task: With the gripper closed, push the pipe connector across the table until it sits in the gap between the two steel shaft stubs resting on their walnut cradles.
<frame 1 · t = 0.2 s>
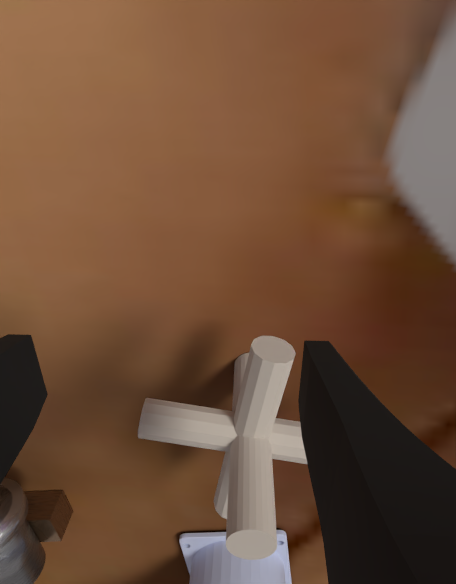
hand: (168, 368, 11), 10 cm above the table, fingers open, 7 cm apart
pipe connector: (250, 363, 23), on the table
shaft a: (28, 488, 29), on the table
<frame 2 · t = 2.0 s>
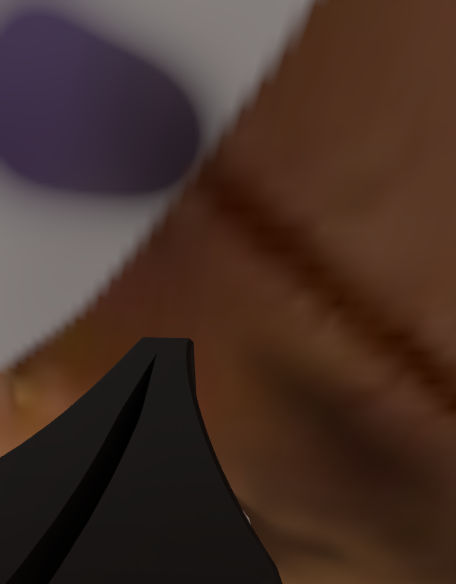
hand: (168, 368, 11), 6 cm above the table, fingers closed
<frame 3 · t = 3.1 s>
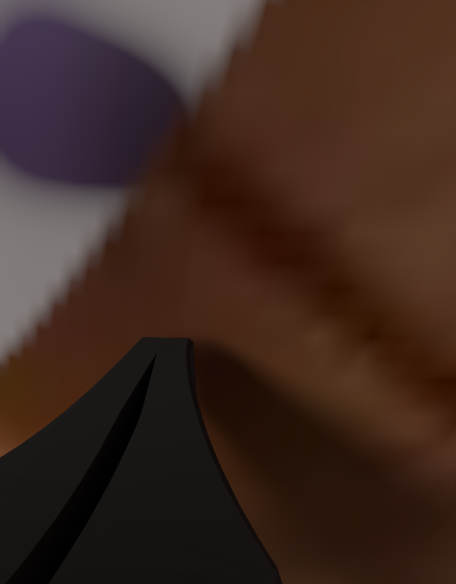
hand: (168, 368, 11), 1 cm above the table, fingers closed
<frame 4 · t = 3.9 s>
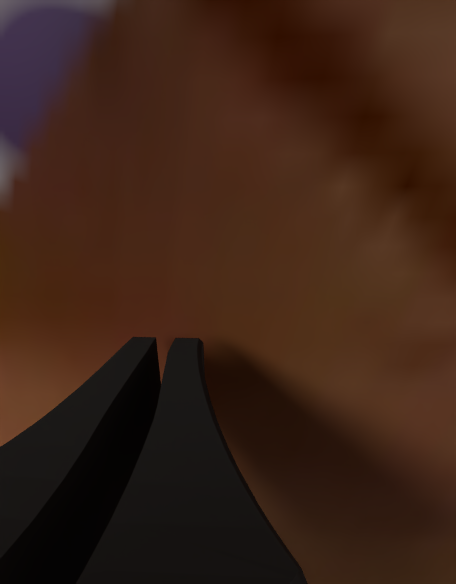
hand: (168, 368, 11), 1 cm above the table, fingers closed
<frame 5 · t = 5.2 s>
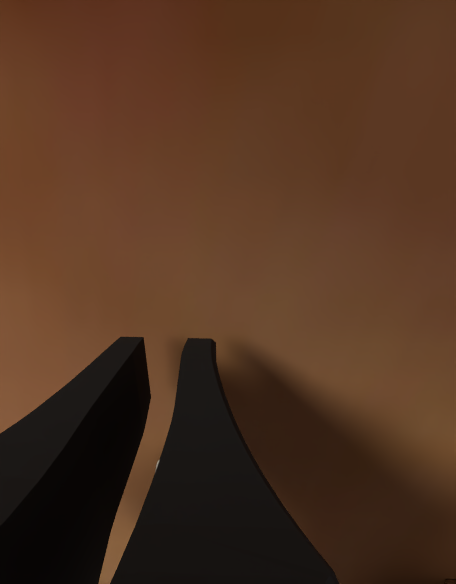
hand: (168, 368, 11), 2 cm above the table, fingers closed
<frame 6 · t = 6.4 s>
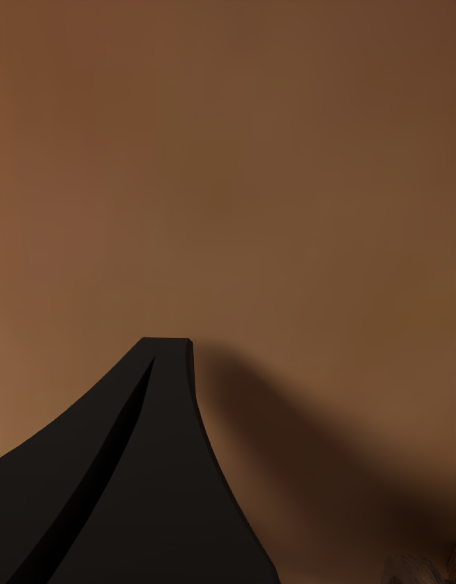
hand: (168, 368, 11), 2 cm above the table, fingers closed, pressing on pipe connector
shaft a: (452, 531, 16), on the table
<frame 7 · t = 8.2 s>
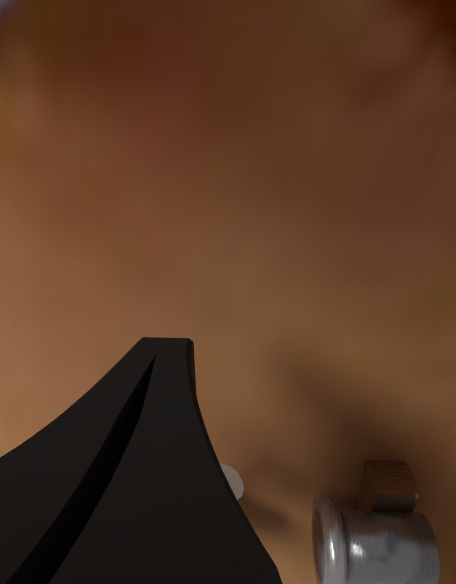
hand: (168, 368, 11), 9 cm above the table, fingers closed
pipe connector: (184, 452, 26), on the table
shaft a: (356, 487, 27), on the table
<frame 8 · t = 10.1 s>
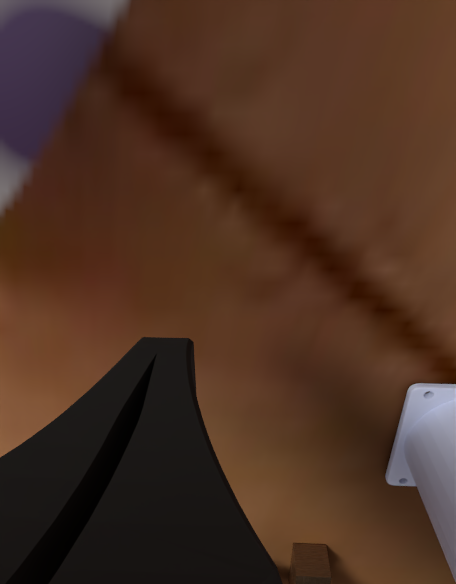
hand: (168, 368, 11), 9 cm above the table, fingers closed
shaft a: (286, 562, 31), on the table
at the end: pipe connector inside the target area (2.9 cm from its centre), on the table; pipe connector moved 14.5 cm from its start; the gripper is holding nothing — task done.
